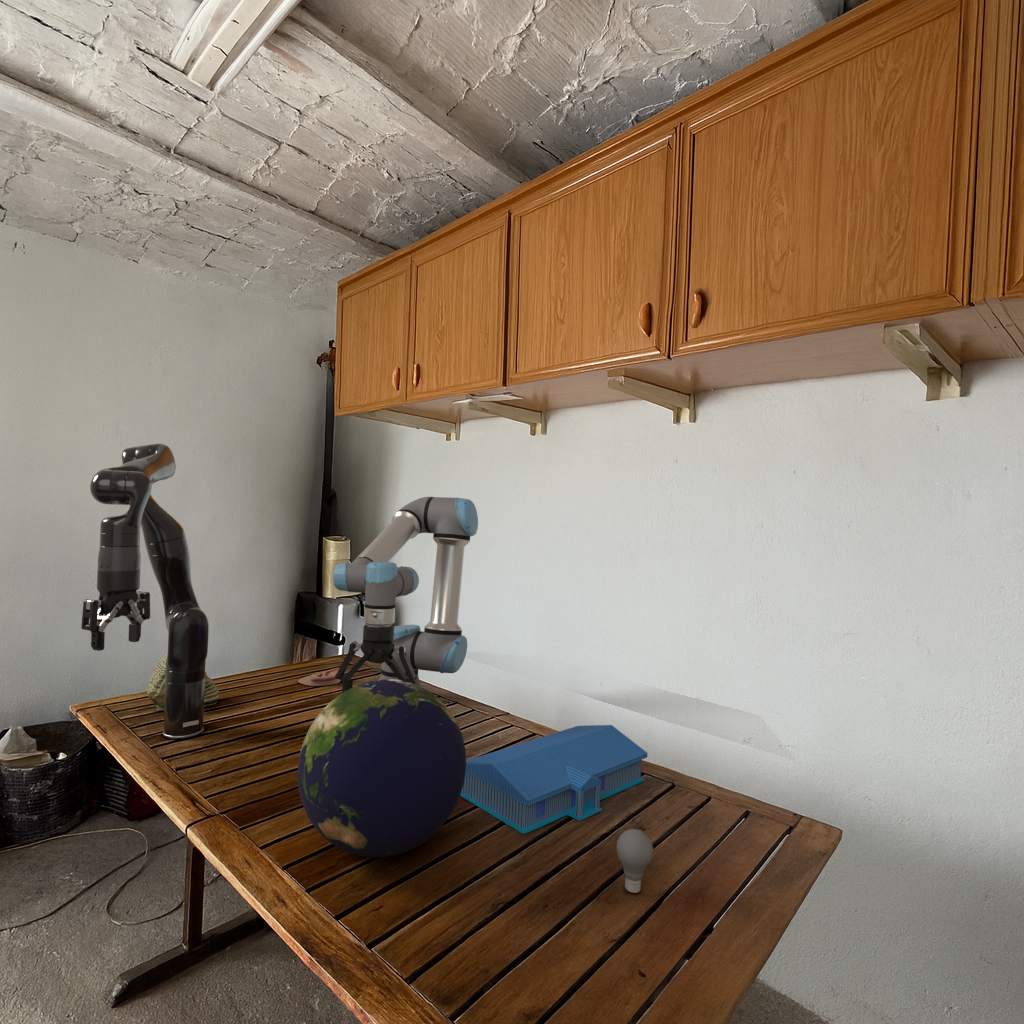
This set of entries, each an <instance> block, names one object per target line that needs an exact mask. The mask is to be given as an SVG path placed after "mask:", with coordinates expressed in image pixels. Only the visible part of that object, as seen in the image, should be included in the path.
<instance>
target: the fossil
mask: <svg viewBox="0 0 1024 1024" xmlns="http://www.w3.org/2000/svg"><path fill="white" fill-rule="evenodd" d="M166 658H167V654H165V655H164V656H163V657H162V658H161V659H160V660H159V662H158V663H157V666H156V667H155V669H154V670H153V672H152V675H151V677H150V680H149V684H148V688H147V697H148V699H149V700H150V701H152V703H153V704H154V706H155V711H158V712H159V711H162V712H163V711H164V705H165V674H166ZM220 698H221V696H220V690H219V688H218V686H217V685H216V683H215V682H214V681H213V679H212V678H211V677H209V675H208V674H207V672H206V671H205V693H204V707H207V706H213V705H215V704H217V703H218V701H219V699H220Z"/></svg>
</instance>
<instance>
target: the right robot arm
mask: <svg viewBox="0 0 1024 1024" xmlns="http://www.w3.org/2000/svg"><path fill="white" fill-rule="evenodd" d="M478 529H479V515H478V510H477V507H476V504H475V503H474V501H472V500H471V499H469V498H462V497H444V496H443V497H442V496H441V497H440V496H422V497H419V498H417V499H415V500H412V501H410V502H408V503H407V504H405V505H404V506H402V507H400V509H398V510H397V511H396V512H395V513H394V514H393V515H392V517H391V521H390V523H389V524H388V525H387V526H386V527H385V528H384V529H383V530H382V531H381V532H380V533H379V534H378V535H377V537H375V538H374V539H373V541H371V542H370V544H369V545H368V546H367V547H366V548H365V549H364V550H363V551H361V553H360V554H358V556H357V557H356V558H355V559H353V561H352V562H341V563H339V564H337V565H336V567H335V568H334V570H333V573H332V582H333V585H334V588H335V589H337V590H338V591H343V592H348V593H359V594H364V608H363V613H364V614H363V623H364V625H363V627H362V629H363V631H362V643H360V642H358V641H356V640H353V641H352V642H350V643H349V645H348V646H349V647H348V652H347V653H346V655H345V657H344V659H343V660H342V662H341V665H340V666H339V667H338V668H339V670H338V672H337V673H336V675H335V678H336V679H339V680H341V681H340V682H342V684H341V685H342V686H341V694H342V693H344V692H345V691H347V690H349V689H351V688H353V687H354V685H353V684H354V680H353V679H351V678H352V677H353V676H354V675H355V674H356V673H357V672H358V671H359V670H360V669H361V667H362V666H363V665H364V664H365V663H366V662H367V661H368V662H369V663H378V664H380V675H379V679H378V680H387V679H396V680H402V681H406V682H410V683H413V684H416V685H418V686H420V687H422V684H421V681H420V678H419V671H428V672H437V673H439V674H455V673H457V672H458V671H459V670H460V669H461V667H462V666H463V664H464V662H465V659H466V656H467V652H468V639H467V637H466V636H465V635H463V629H462V627H461V626H460V624H459V622H458V621H459V613H460V603H461V601H460V600H461V592H462V581H463V570H464V568H463V567H464V559H465V558H464V557H465V547H466V546H467V545H468V544H470V543H471V537H473V536H475V535H476V534H477V532H478ZM419 534H433V535H432V539H433V541H434V542H435V543H436V555H435V564H434V565H435V566H434V575H433V577H434V578H433V586H432V595H431V596H432V597H431V608H430V620H429V622H428V623H427V624H425V625H424V628H423V631H421V630H422V629H421V627H420V626H421V625H418V624H402V625H395V626H394V625H393V624H395V622H396V602H397V601H396V599H397V598H399V597H405V596H409V595H410V594H412V593H414V592H415V591H416V590H417V588H418V587H419V583H420V577H419V574H418V573H417V571H416V570H415V569H414V568H412V567H410V566H403V565H402V566H398V565H397V563H396V562H392V560H393V558H394V557H395V556H396V555H397V554H398V553H399V552H400V551H401V550H402V548H403V547H404V546H405V545H406V544H407V543H408V541H409V540H411V539H415V538H416V537H417V536H418V535H419ZM359 650H360V651H361V652H362V654H363V655H362V656H361V658H360V659H359V660H358V661H357V662H356V663H355V664H354V665H353V666H352V667H351V669H349V671H348V672H346V671H347V669H348V668H349V665H350V664H351V662H352V660H353V658H354V656H355V655H356V653H357V652H358V651H359ZM345 673H346V674H345Z"/></svg>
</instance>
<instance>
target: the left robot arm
mask: <svg viewBox="0 0 1024 1024" xmlns="http://www.w3.org/2000/svg"><path fill="white" fill-rule="evenodd" d="M172 451H173V450H172V449H171V447H169V446H168V445H167V444H165V443H152V444H144V445H138V446H131V447H127V448H124V449H123V451H122V452H121V462H122V464H121V465H120V466H113V467H106V468H102V469H100V470H99V471H97V472H96V473H95V474H94V475H93V477H92V479H91V480H90V483H89V488H90V489H89V490H90V494H91V496H92V498H93V499H94V500H95V501H96V502H98V503H100V504H103V505H115V506H117V505H118V506H129V508H128V510H127V511H126V512H125V513H123V514H119V515H112V516H106V517H104V518H102V520H101V522H100V528H99V549H98V555H97V572H96V575H97V576H96V590H97V591H98V593H99V595H98V598H97V599H88V598H86V599H84V601H83V603H82V615H81V625H80V626H81V627H80V628H81V630H82V631H83V630H85V631H89V632H90V638H91V639H90V647H91V648H92V650H93V651H98V652H101V651H104V650H105V637H106V634H105V633H106V632H105V630H106V628H107V626H108V624H111V622H113V620H114V619H117V618H120V617H125V618H126V619H127V620H128V621H129V624H128V642H131V643H139V642H140V639H141V636H142V624H143V623H144V621H146V620H147V621H148V620H150V618H151V593H150V592H148V591H142V590H141V591H139V589H140V587H141V560H142V559H141V549H140V546H141V533H142V536H143V541H144V544H145V548H146V552H147V556H148V560H149V562H150V566H151V569H152V571H153V575H154V577H155V579H156V582H157V584H158V586H159V590H160V592H161V596H162V597H161V598H162V602H163V603H162V604H163V608H164V619H165V628H166V630H167V633H168V635H167V636H168V637H167V653H166V655H167V658H166V674H165V705H164V710H163V731H162V737H164V738H166V739H169V740H185V739H190V738H191V739H192V738H194V737H197V736H199V735H202V734H203V732H204V730H205V729H204V722H205V721H204V718H205V706H204V693H205V672H206V664H207V663H206V662H207V658H208V653H209V652H208V651H209V633H210V626H209V625H210V624H209V619H208V618H209V617H208V616H207V615H206V613H205V612H204V611H203V610H202V609H201V607H200V605H199V602H198V600H197V596H196V594H195V590H194V587H193V585H192V584H193V583H192V570H191V569H192V566H191V556H190V548H189V545H188V540H187V537H186V533H185V530H184V527H183V526H182V525H181V524H180V523H179V522H178V521H177V520H176V519H175V518H174V517H173V515H171V514H170V513H168V512H167V511H166V510H165V509H164V508H162V506H160V505H159V503H157V501H156V500H155V499H154V497H153V496H152V494H151V493H152V485H154V484H155V483H157V482H159V481H160V482H161V481H164V480H168V479H170V478H172V477H173V476H174V475H175V473H176V470H177V469H176V467H177V466H176V459H175V456H174V453H173V452H172ZM141 531H142V532H141Z"/></svg>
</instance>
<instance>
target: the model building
mask: <svg viewBox="0 0 1024 1024" xmlns="http://www.w3.org/2000/svg"><path fill="white" fill-rule="evenodd" d="M648 755H649V754H648V751H646V750H644V749H643V748H642V747H640V746H639V744H637V743H635V742H634V741H633V740H632V739H630V738H629V736H626V734H624V733H623V732H621V731H620V730H619V729H618V728H616V727H615V726H614V725H612V724H596V725H595V724H592V725H576V726H574V727H569V728H566V729H564V730H560V731H556V732H553V733H550V734H548V735H544V736H541V737H537V738H534V739H530V740H528V741H524V742H521V743H518V744H514V745H511V746H509V747H505V748H502V749H499V750H496V751H492V752H489V753H485V754H482V755H479V756H476V757H473V758H470V759H466V773H465V779H464V784H463V788H462V791H461V794H460V797H462V798H463V799H465V800H466V801H468V802H470V803H471V804H472V805H475V806H476V807H478V808H479V809H481V810H483V811H485V812H486V813H487V814H490V815H491V816H493V817H494V818H495V819H498V820H499V821H501V822H502V823H503V824H506V825H508V826H509V827H511V828H512V829H514V830H515V831H517V832H519V834H522V835H526V834H528V833H530V832H533V831H535V830H537V829H540V828H542V827H544V826H546V825H548V824H550V823H552V822H556V821H557V820H559V819H562V818H563V817H566V816H569V817H571V818H573V819H574V820H576V821H578V822H581V821H583V820H585V819H587V818H589V817H592V816H594V815H596V814H598V813H600V812H602V808H601V801H602V800H604V799H606V798H609V797H611V796H613V795H616V794H617V793H620V792H622V791H624V790H627V789H629V788H631V787H634V786H636V785H639V784H641V783H642V782H645V781H646V780H645V778H644V777H642V763H643V762H642V761H643V760H645V759H647V758H648Z"/></svg>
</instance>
